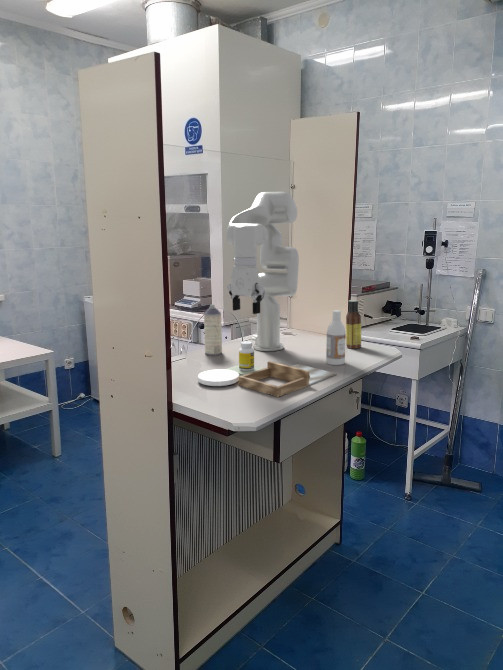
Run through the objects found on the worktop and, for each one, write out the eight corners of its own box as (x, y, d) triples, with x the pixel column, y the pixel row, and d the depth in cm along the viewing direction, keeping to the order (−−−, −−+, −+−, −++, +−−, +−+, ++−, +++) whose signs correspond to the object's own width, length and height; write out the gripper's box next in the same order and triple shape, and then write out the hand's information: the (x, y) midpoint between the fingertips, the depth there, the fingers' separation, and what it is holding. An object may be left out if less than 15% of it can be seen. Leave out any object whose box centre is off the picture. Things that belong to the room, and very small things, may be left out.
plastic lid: (228, 373, 192) (228, 366, 192) (246, 384, 180) (246, 377, 180) (192, 379, 186) (191, 372, 186) (207, 391, 174) (207, 384, 174)
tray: (224, 373, 192) (224, 369, 192) (244, 367, 199) (244, 363, 199) (248, 380, 184) (248, 375, 184) (268, 373, 191) (268, 369, 191)
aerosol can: (225, 352, 220) (224, 303, 215) (216, 356, 214) (215, 306, 209) (210, 350, 223) (209, 302, 218) (202, 354, 217) (200, 305, 212)
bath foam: (334, 366, 198) (336, 313, 193) (322, 362, 204) (323, 310, 199) (348, 363, 202) (350, 311, 197) (336, 359, 207) (337, 308, 203)
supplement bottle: (252, 371, 188) (252, 344, 186) (237, 371, 189) (237, 344, 187) (255, 367, 193) (255, 340, 191) (240, 366, 194) (240, 340, 192)
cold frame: (238, 385, 179) (238, 370, 178) (297, 365, 200) (297, 352, 199) (278, 397, 167) (278, 382, 166) (336, 374, 188) (336, 361, 187)
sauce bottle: (362, 346, 227) (363, 299, 222) (360, 349, 221) (361, 302, 216) (346, 345, 229) (347, 298, 224) (344, 348, 223) (345, 301, 218)
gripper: (220, 261, 186) (221, 310, 190) (256, 264, 174) (257, 316, 178) (235, 259, 191) (236, 307, 195) (271, 262, 179) (272, 313, 183)
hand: (246, 311), depth 187 cm, fingers open, 9 cm apart
